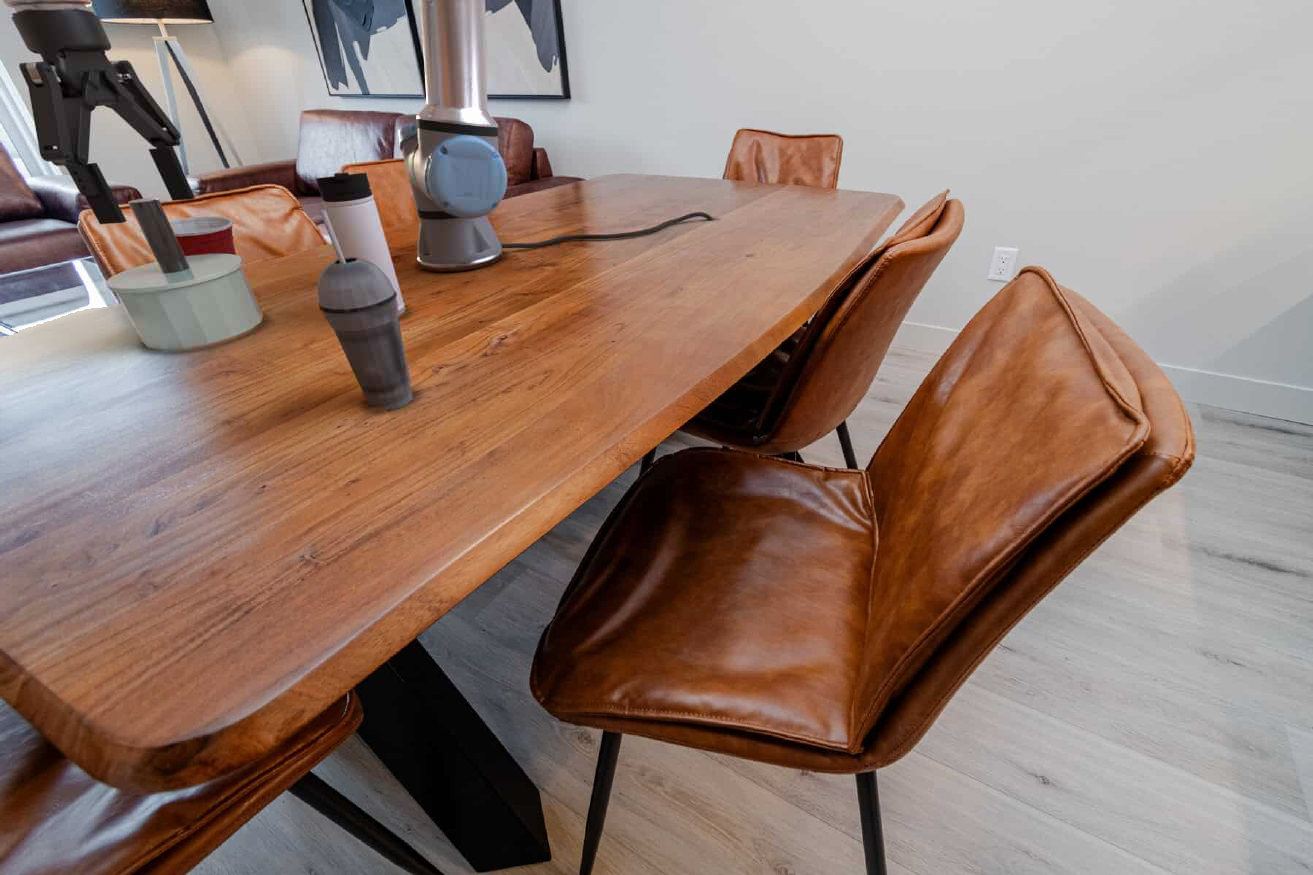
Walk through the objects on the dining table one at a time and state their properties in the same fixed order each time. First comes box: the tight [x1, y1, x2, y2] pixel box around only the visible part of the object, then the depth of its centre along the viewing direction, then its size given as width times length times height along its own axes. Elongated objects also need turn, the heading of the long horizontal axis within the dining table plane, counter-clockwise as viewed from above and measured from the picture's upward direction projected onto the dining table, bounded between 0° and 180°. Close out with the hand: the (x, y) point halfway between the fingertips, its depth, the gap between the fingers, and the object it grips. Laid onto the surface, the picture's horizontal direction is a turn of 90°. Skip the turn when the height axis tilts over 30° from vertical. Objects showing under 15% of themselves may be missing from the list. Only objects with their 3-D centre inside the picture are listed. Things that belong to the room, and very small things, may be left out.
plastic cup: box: [168, 215, 237, 256], centre depth 98 cm, size 11×11×12 cm
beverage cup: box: [316, 209, 414, 411], centre depth 61 cm, size 7×7×20 cm
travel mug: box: [315, 171, 406, 316], centre depth 83 cm, size 6×7×20 cm
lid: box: [105, 197, 244, 293], centre depth 80 cm, size 16×16×10 cm
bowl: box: [114, 265, 264, 351], centre depth 84 cm, size 15×15×8 cm
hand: (151, 210), depth 78 cm, fingers open, 13 cm apart
